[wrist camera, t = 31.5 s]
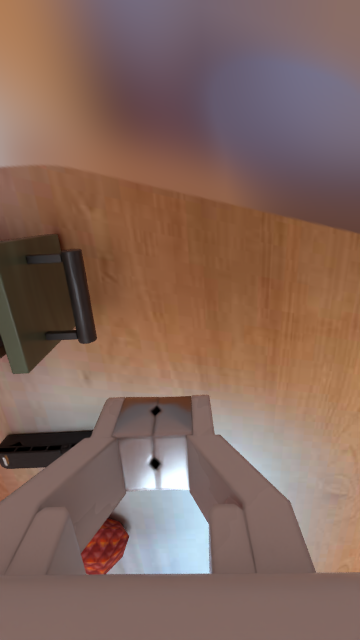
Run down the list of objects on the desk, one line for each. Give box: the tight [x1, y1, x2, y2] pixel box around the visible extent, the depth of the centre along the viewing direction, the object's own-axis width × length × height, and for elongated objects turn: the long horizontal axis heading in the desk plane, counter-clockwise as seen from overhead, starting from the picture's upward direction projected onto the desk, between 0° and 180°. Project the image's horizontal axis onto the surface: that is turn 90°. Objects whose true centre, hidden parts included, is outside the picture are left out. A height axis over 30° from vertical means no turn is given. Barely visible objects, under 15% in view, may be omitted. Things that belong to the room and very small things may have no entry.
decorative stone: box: [81, 518, 129, 575], centre depth 37 cm, size 6×7×8 cm
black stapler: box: [0, 431, 93, 469], centre depth 32 cm, size 18×3×3 cm, turn 95°
